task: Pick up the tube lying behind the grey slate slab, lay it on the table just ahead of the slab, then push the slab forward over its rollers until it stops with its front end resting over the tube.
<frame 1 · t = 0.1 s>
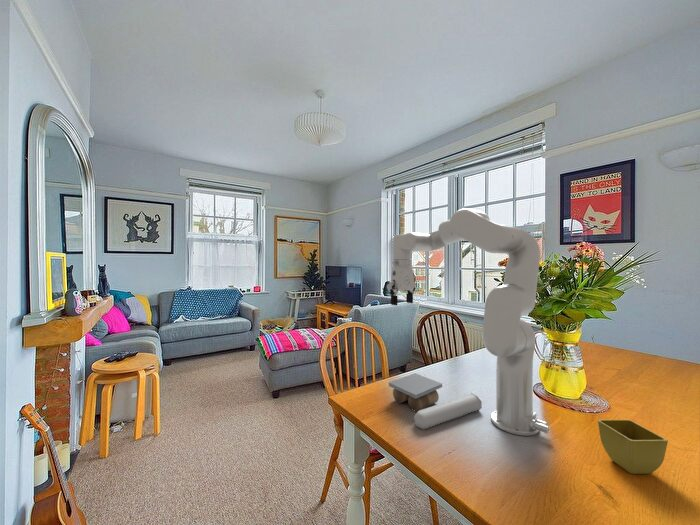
hand: (402, 303, 122), 31 cm above the table, tool pointing down, fingers open, 9 cm apart
rollers: (415, 402, 100), on the table
flower pot: (630, 467, 68), on the table
tube: (447, 419, 90), on the table
slab: (415, 384, 100), point 6 cm above the table, slide at 0.0 cm
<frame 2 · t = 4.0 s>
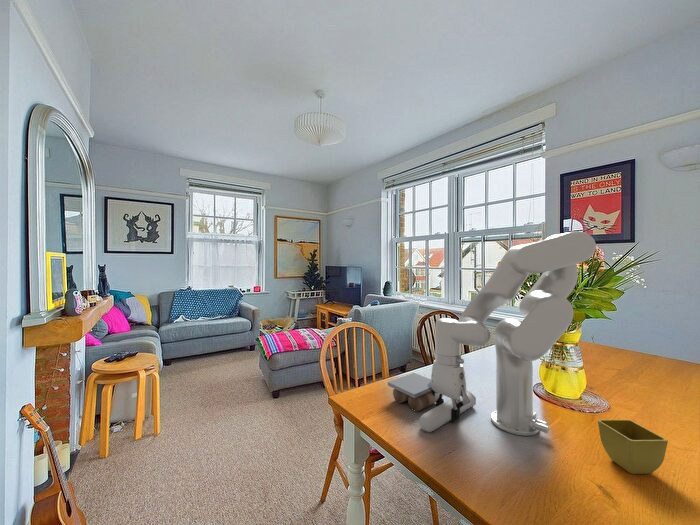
hand: (447, 416, 90), 1 cm above the table, tool pointing down, fingers closed on tube, 4 cm apart
tube: (448, 419, 90), on the table, touching gripper
slab: (414, 384, 100), point 6 cm above the table, slide at 0.5 cm
everything else where it was.
when the fingers open (2 cm above the table, at t = 10.7 s): tube drops 1 cm, on the table.
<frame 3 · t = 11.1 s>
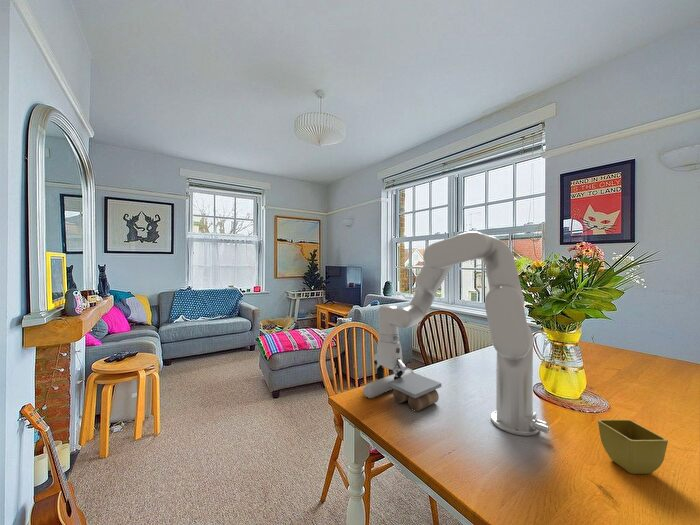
hand: (388, 382, 110), 3 cm above the table, tool pointing down, fingers open, 8 cm apart
tube: (389, 390, 111), on the table
slab: (414, 384, 100), point 6 cm above the table, slide at 0.3 cm, touching gripper
everything else where it was.
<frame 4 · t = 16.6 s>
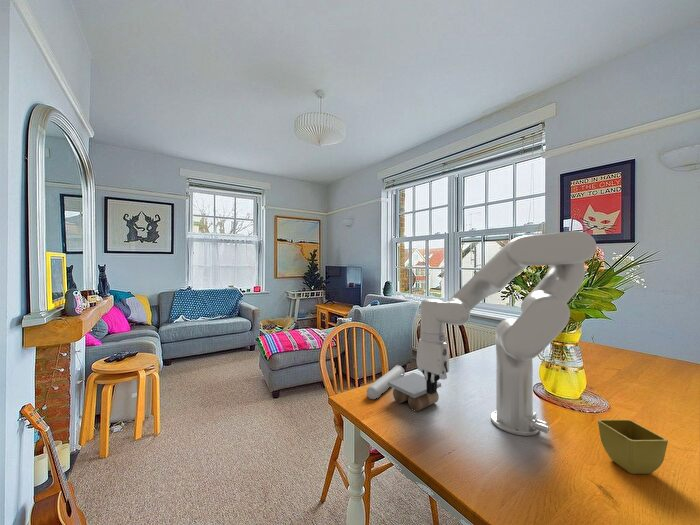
hand: (431, 392, 94), 6 cm above the table, tool pointing down, fingers closed
tube: (386, 388, 112), on the table
everything else where it was.
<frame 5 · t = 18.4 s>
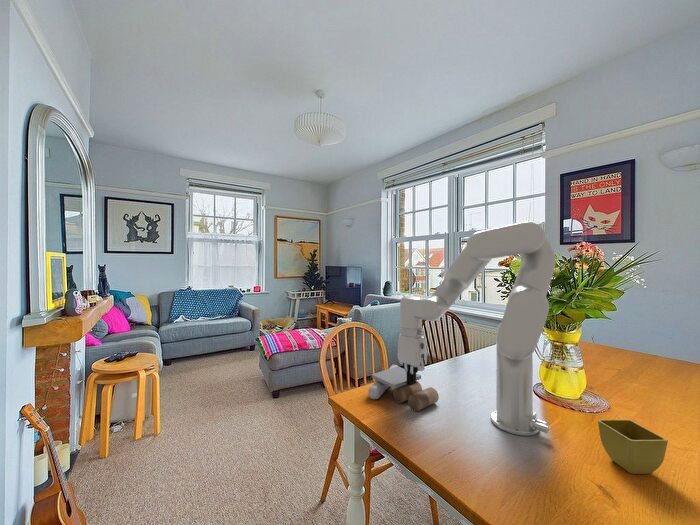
hand: (411, 383, 101), 6 cm above the table, tool pointing down, fingers closed
slab: (396, 376, 107), point 6 cm above the table, slide at 9.1 cm, touching gripper
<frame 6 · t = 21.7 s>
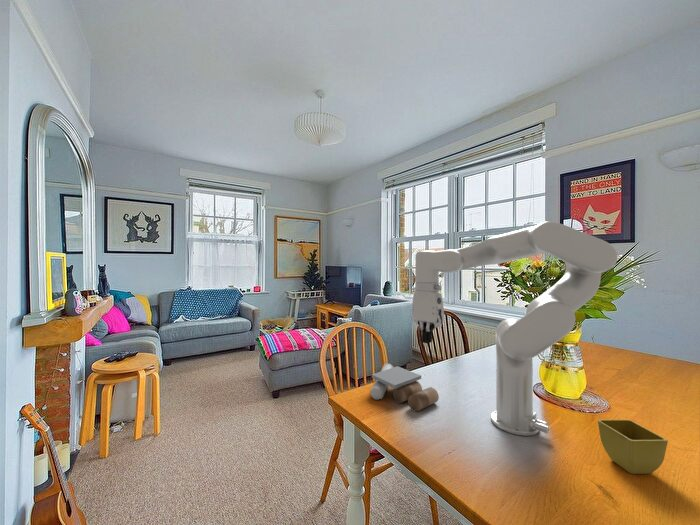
hand: (427, 342, 96), 22 cm above the table, tool pointing down, fingers closed
slab: (396, 376, 107), point 6 cm above the table, slide at 9.0 cm
at the end: slab slide at 9.0 cm; tube inside the target area (3.0 cm from its centre), on the table; the gripper is holding nothing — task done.
